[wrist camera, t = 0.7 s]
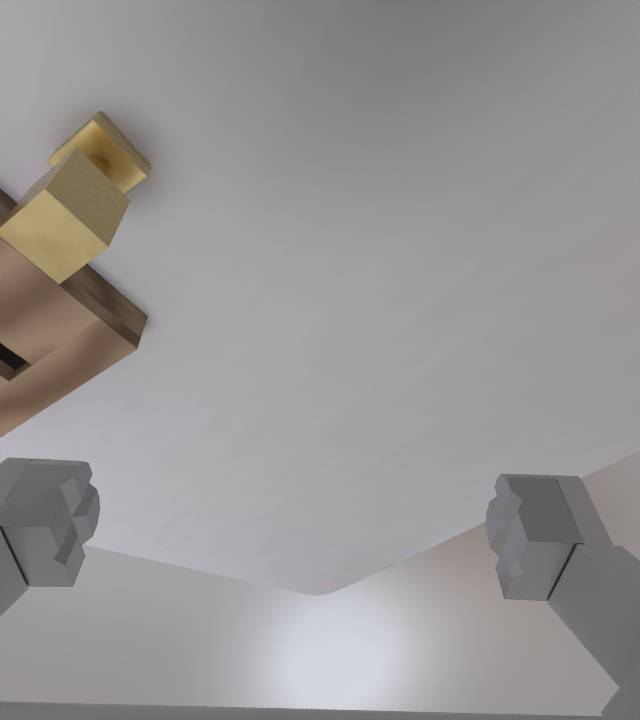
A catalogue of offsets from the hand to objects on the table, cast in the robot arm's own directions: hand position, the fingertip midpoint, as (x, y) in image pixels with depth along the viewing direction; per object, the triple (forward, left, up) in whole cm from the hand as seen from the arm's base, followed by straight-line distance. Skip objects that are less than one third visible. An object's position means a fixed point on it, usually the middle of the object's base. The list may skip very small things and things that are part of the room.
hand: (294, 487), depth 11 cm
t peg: (-2, -15, -35) cm, 38 cm away
